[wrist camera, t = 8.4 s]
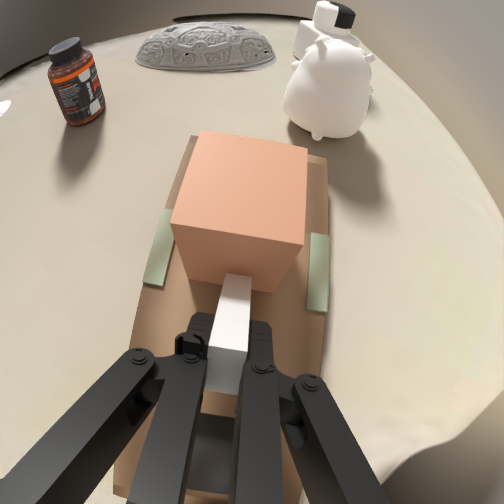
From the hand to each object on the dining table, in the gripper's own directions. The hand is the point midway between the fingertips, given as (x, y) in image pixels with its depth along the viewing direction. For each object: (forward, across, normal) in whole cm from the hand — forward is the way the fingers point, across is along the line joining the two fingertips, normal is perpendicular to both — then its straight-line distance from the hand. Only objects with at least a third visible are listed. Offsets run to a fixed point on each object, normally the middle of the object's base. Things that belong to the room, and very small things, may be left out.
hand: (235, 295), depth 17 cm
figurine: (+21, +6, +12) cm, 25 cm away
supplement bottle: (+19, -24, +11) cm, 32 cm away
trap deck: (+4, 0, -4) cm, 6 cm away
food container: (+32, -12, +24) cm, 42 cm away
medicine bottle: (+33, +7, +25) cm, 42 cm away
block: (+5, 0, +1) cm, 5 cm away
